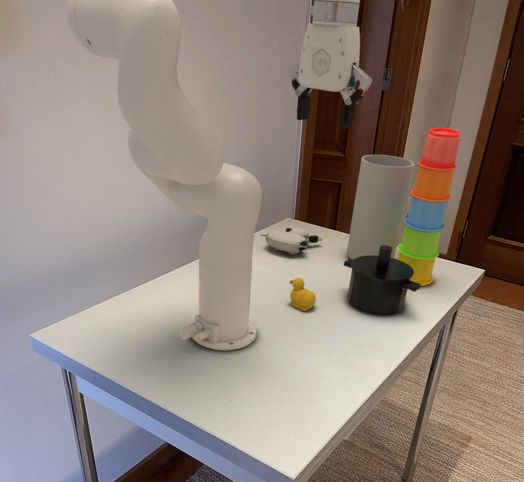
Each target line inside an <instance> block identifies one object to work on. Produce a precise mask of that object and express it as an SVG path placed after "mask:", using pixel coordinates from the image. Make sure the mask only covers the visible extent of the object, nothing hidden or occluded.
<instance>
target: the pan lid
mask: <svg viewBox="0 0 524 482" xmlns="http://www.w3.org/2000/svg"><path fill="white" fill-rule="evenodd" d="M391 253H392V247H390V246H387V245H382V246H380V250H379V255H378V256H377V255H367V256H361V257H357V258H355V259H354V260H353V261H352V262H351V268H350V269H351V271H352V270H353V271H354V272H356V273H357V274H359V275H360V276H363V277H365V278H368V279H371V280H375V281H380V282H392V283H394V282H403V281H407V280H409V279H411V278H412V277H413V274H414V270H413V269H412V267H411V266H409V265H408V264H407V263H405V262H403V261H400V260H398V259H397V258H395V257H394V258H391Z"/></svg>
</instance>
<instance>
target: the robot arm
mask: <svg viewBox="0 0 524 482" xmlns="http://www.w3.org/2000/svg"><path fill="white" fill-rule="evenodd" d="M360 2H361V0H314V3H313V5H311V6H310V7H309V9H308V13H309V15H310V16H312V23H311V22H308V25H307V27H306V31H305V34H304V39H303V43H302V47H301V54H300V60H299V62H298V63H296V64H295V65H293V66H291V67H290V68H289V69H288V73H289V77H290V80H291V85H292V88H293V89H294V91H295V96H296V97H297V103H296V104H297V105H296V120H297V121H304V120H308V119H309V118H310V112H311V103H312V97H311V95H309V94H310V93H311V92H312V91H313V90H314V89H315V90H321V91H328V92H334V93H335V92H339V94H340V95H341V97H342V99H343V101H344V104H342V105H341V107H340V116H339V124H338V128H339V129H342V130H344V129H349V128H351V127H352V125H353V123H354V118H355V109H356V105H357V104H359V102H360V100H362V99H363V98H364V97H365V96H366V94H367V92H368V90H369V89H370V86H371V85H372V83H373V78H372V77H371V76H370V75H368V73H366V72H365V71H364V70H363V69H362V68H361V67H360V54H361V53H360V51H361V33H360V32H361V31H360V26H357V25H358V24H357V23H358V17H359V9H360ZM67 4H68V5H67V20H68V25H69V28H70V31H71V34H72V35H73V37H74V39H75V41H76V42H77V43H78V44H79V45H80V46H81V47H82V48H83V49H84V50H86V51H87V52H89V53H91V54H93V55H95V56H98V57H102V58H107V59H113V60H118V65H117V101H118V107H119V109H120V112H121V116H122V117H123V118H124V120H125V122H126V123H127V125H128V126H129V129H128V133H127V147H128V151H129V154H130V158H131V159H132V161H133V163H134V164H135V166H136V167H137V168H138V170H139V171H140V172H141V173H142V174H143V175H144V176H145V177H146V178H147V179H148V180H149V181H150V182H151V183H152V184H153V185H155V186H156V188H157V189H158V190H159V191H160V192H161V193H162V194H164V196H166V197H167V198H168V199H169V200H170V201H171V202H172V203H173V204H175V206H177V207H179V208H181V209H183V210H185V211H188V212H190V213H193V214H195V215H197V216H200V217H201V218H204V219H206V220H207V226H206V228H205V230H204V232H203V233H202V235H201V237H200V240H199V244H198V314H197V315H194V321H193V322H192V323H191V325H190V326H187V327H185V328H183V329H181V330H179V333H178V335H179V337H180V339H182V340H183V341H186V340H188V339H190V338H192V340H193V341H194V342H195V343H197V344H198V345H200V346H202V347H204V348H207V349H209V350H210V349H211V350H215V351H232V350H233V351H234V350H238V349H242V348H245V347H247V346H249V345H251V344H252V343H253V342H254V341H255V339H256V337H257V327H256V325H255V324H254V323H253V322H252V321H251V320H250V309H251V307H250V306H251V291H252V289H251V288H252V273H253V255H254V254H253V252H254V241H255V232H256V229H257V228H256V226H257V223H258V219H259V215H260V211H261V209H262V208H261V207H262V202H263V190H262V186H261V184H260V182H259V180H258V179H257V177H256V176H255V175H254V174H252V173H251V172H249V171H248V170H246V169H244V168H242V167H240V166H237V165H233V164H230V163H226V162H224V152H223V148H222V146H221V143H220V140H219V139H218V137H217V136H216V135H215V134H214V132H213V130H212V129H211V128H210V127H209V125H208V124H207V123H206V122H205V120H204V119H203V118H202V117H201V116H200V115H201V114H199V113H198V111H197V110H196V108H195V107H194V106H193V105H192V103H191V102H190V101H189V99H188V98H187V96H186V94H185V92H183V90H182V88H181V87H180V83H179V79H178V61H179V53H180V52H179V51H180V45H181V39H182V27H181V19H180V15H179V11H178V9H177V7H176V5H175V3H174V1H173V0H68V3H67ZM357 82H359V84H358V87H357V89H355V88H356V85H357Z"/></svg>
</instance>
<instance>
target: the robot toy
mask: <svg viewBox="0 0 524 482" xmlns="http://www.w3.org/2000/svg"><path fill="white" fill-rule="evenodd" d="M259 235H260V237H265V241H266V244H267V245H268V246H269V247H271V248H273V249H274V250H277V251H283V252H287V253H289V254H290V255H296V254H298V253H300V252H303V251H304V250H306V249H308V243H310V244H315V243H318V242H321V241H323V237H320V236H318V235H315V234H314V235H310V232H309V230H307V229H304V228H300V227H294V228H291V227H286V229H285V231H283V230H273V231H270V232H268V233H267V234H262V233H261V234H259Z"/></svg>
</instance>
